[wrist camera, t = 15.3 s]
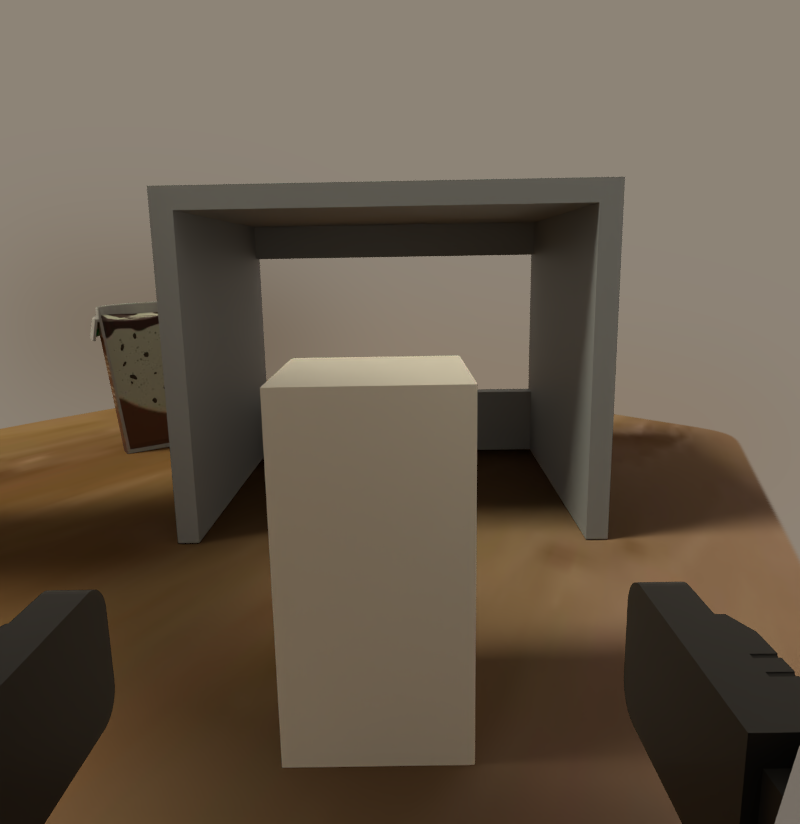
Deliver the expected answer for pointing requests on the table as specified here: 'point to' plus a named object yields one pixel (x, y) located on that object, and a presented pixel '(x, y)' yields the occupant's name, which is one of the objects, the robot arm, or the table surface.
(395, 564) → the cream block
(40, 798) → the robot arm
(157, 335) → the food container
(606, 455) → the open box frame
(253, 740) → the table surface
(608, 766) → the table surface
